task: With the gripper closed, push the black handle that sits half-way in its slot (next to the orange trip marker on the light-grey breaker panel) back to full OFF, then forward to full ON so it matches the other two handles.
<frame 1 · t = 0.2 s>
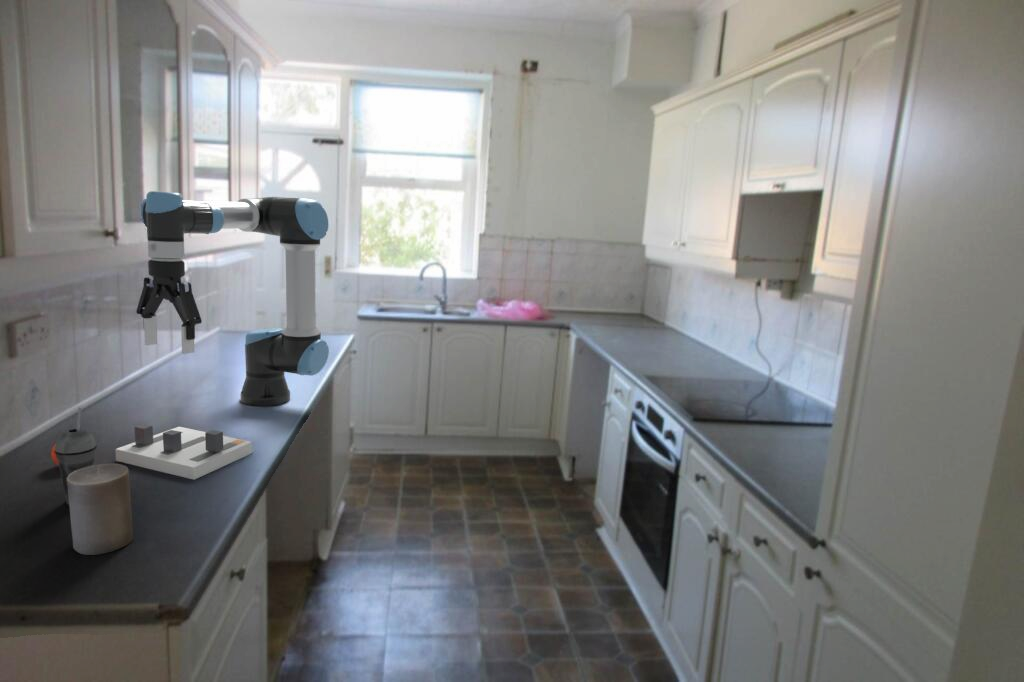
hand: (169, 348, 156), 28 cm above the countertop, fingers open, 13 cm apart
clementine: (72, 466, 154), on the countertop
pillar candle: (103, 543, 122), on the countertop
beverage cup: (79, 501, 137), on the countertop
breaker panel: (186, 456, 163), on the countertop
tripped handle: (214, 441, 159), point 6 cm above the countertop, slide at 4.0 cm
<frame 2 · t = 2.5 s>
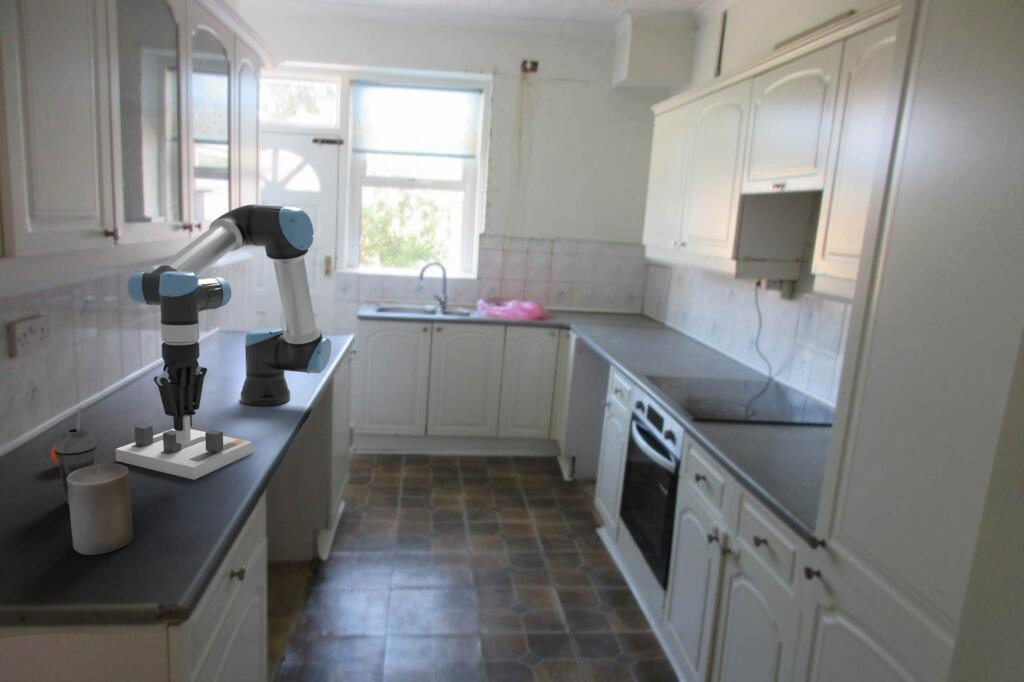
hand: (183, 442, 150), 8 cm above the countertop, fingers closed
nothing on the countertop moved.
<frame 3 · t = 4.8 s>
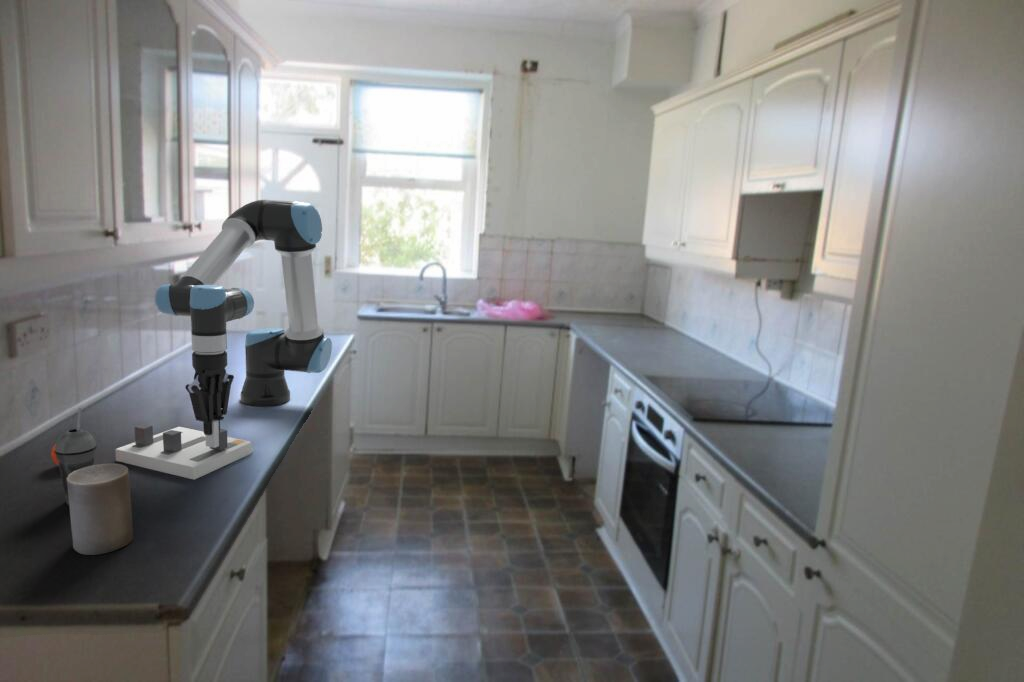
hand: (212, 445, 159), 5 cm above the countertop, fingers closed
tripped handle: (218, 439, 160), point 6 cm above the countertop, slide at 2.6 cm, touching gripper
everything else where it was.
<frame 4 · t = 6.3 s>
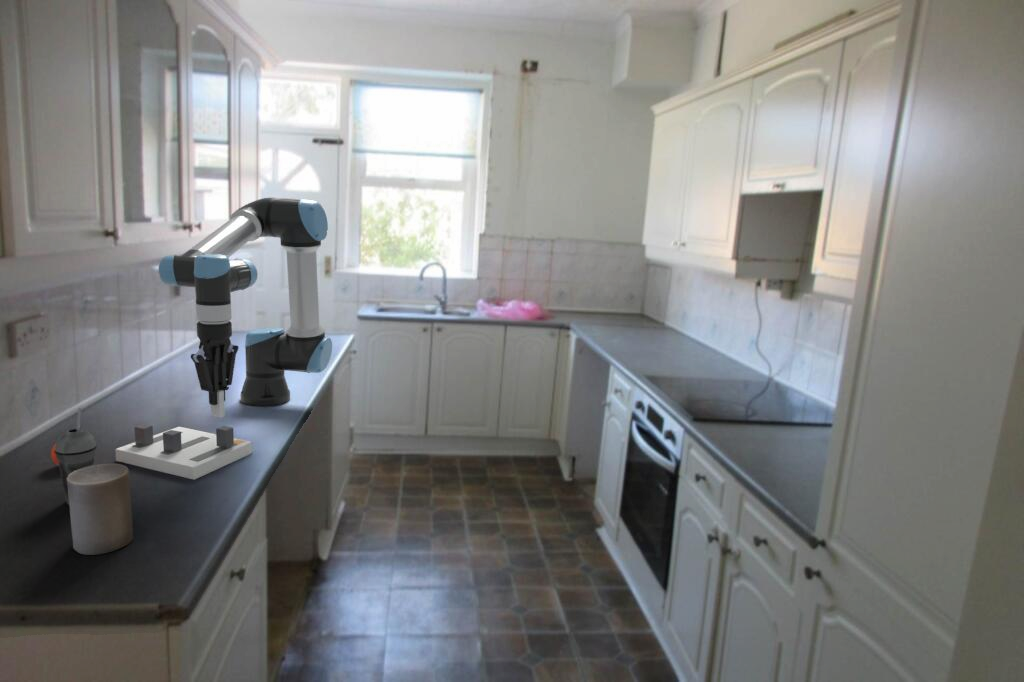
hand: (217, 416, 159), 12 cm above the countertop, fingers closed
tripped handle: (225, 436, 162), point 6 cm above the countertop, slide at 0.5 cm
everything else where it was.
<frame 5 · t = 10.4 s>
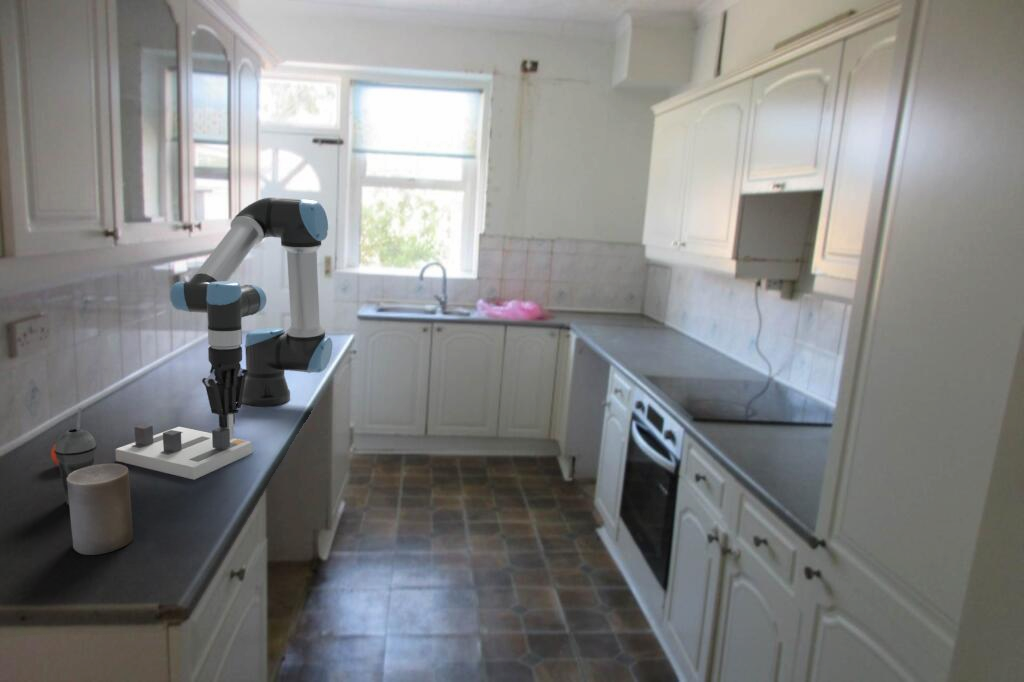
hand: (227, 438, 163), 5 cm above the countertop, fingers closed
tripped handle: (221, 438, 161), point 6 cm above the countertop, slide at 1.8 cm, touching gripper
everything else where it was.
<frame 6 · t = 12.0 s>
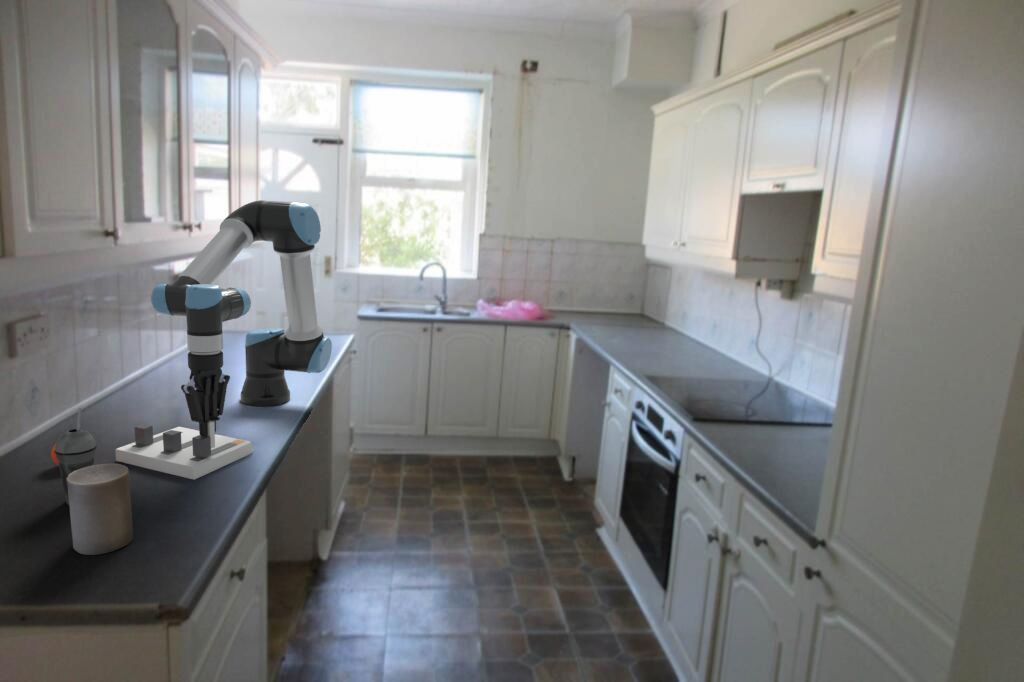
hand: (208, 446, 157), 5 cm above the countertop, fingers closed
tripped handle: (201, 446, 155), point 6 cm above the countertop, slide at 7.9 cm, touching gripper
everything else where it was.
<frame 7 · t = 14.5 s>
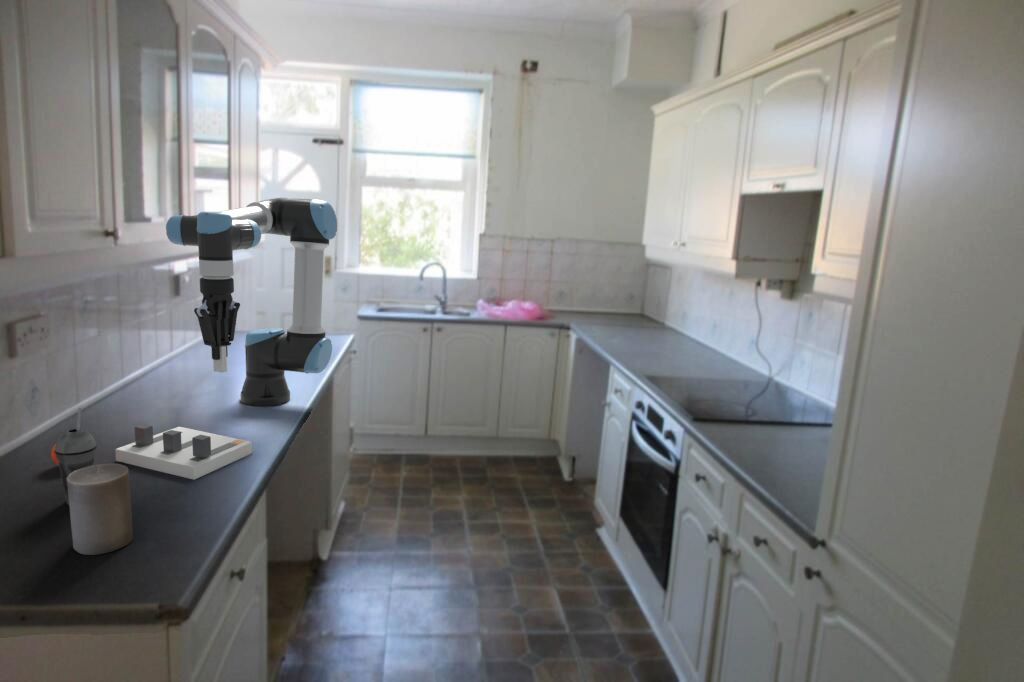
hand: (220, 371, 163), 21 cm above the countertop, fingers closed
tripped handle: (201, 446, 155), point 6 cm above the countertop, slide at 8.0 cm
everything else where it was.
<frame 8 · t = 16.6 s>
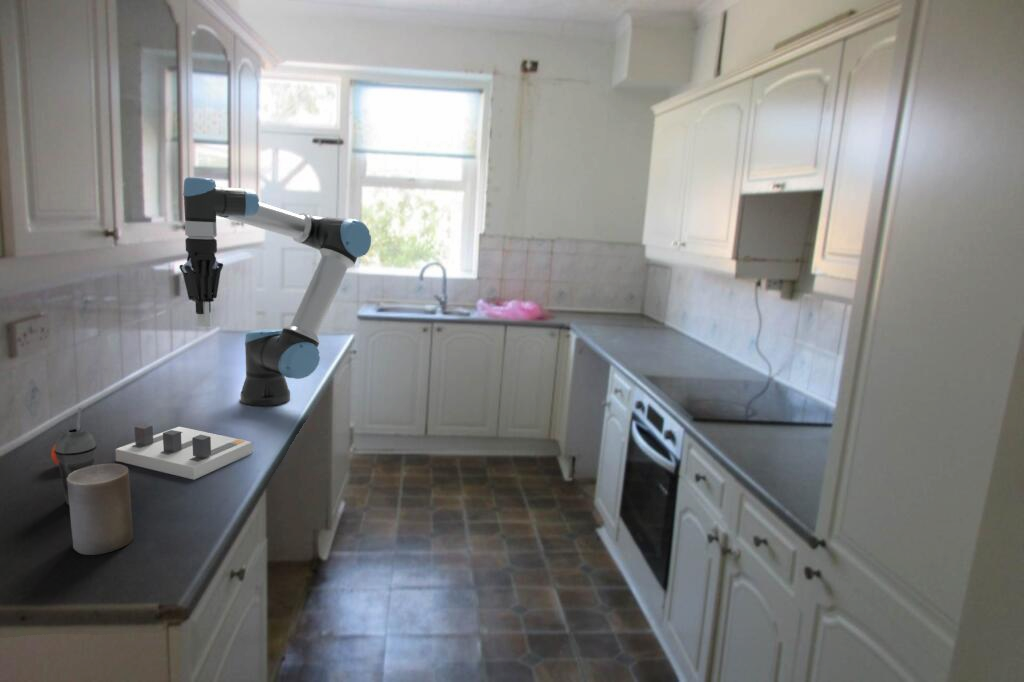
hand: (203, 325, 177), 29 cm above the countertop, fingers closed
nothing on the countertop moved.
at the end: tripped handle slide at 8.0 cm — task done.
